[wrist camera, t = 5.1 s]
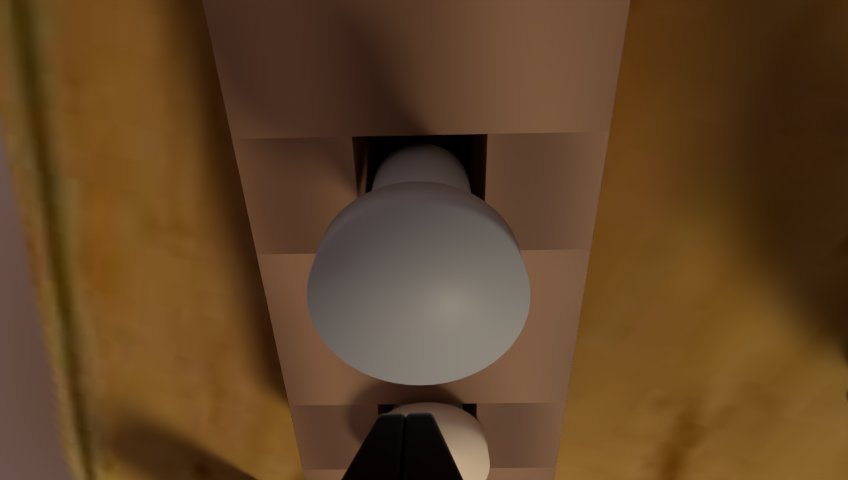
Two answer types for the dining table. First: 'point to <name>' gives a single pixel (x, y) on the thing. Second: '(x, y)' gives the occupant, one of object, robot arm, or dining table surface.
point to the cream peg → (457, 436)
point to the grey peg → (419, 275)
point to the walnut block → (490, 181)
